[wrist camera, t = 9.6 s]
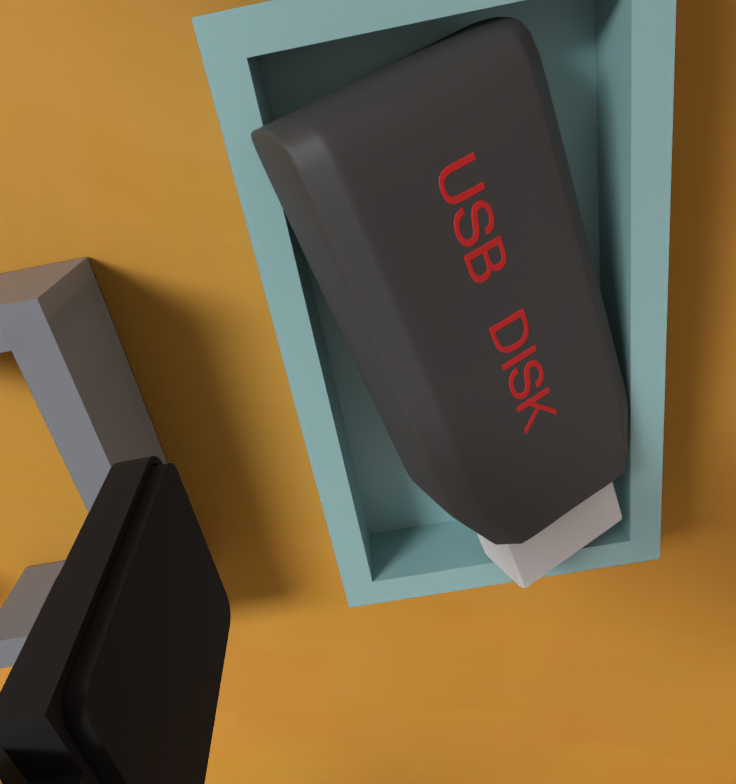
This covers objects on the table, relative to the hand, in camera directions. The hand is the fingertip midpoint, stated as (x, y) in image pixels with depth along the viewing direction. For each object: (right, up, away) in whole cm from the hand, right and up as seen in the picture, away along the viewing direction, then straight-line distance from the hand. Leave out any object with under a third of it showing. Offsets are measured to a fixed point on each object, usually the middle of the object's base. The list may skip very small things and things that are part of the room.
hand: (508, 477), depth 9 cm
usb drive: (0, +3, +7) cm, 7 cm away
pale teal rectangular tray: (0, +3, +8) cm, 8 cm away
